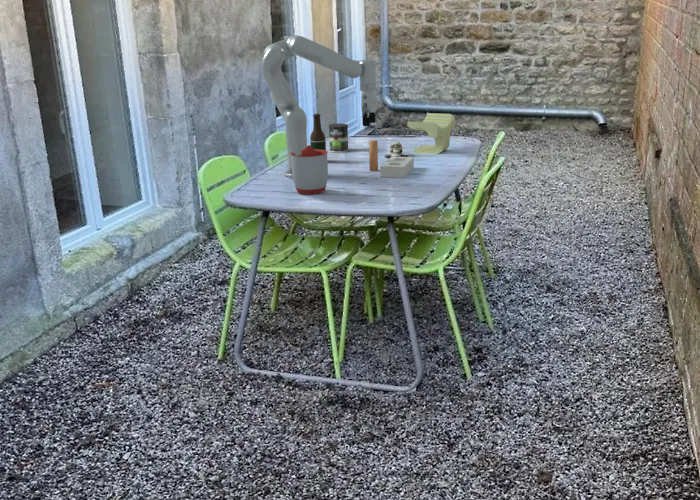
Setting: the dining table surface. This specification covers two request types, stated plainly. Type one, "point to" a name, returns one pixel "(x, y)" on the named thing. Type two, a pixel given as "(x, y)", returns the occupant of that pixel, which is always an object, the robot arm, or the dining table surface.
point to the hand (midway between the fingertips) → (369, 124)
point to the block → (397, 167)
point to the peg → (373, 155)
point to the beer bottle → (317, 135)
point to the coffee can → (338, 137)
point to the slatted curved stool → (435, 131)
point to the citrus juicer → (310, 170)
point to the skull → (396, 150)
